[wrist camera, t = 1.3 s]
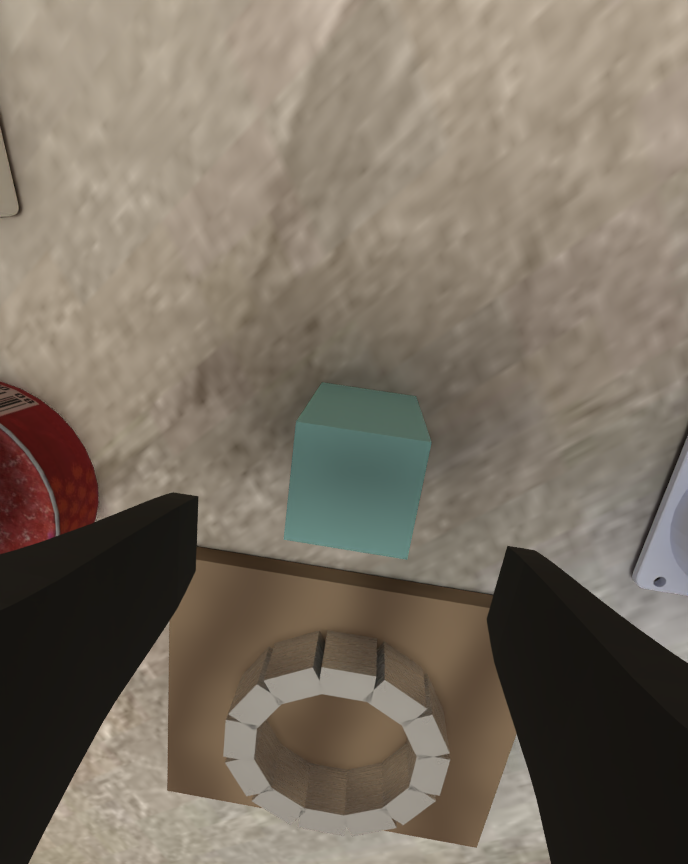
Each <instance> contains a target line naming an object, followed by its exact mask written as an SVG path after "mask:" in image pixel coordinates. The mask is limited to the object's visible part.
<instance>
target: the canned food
mask: <svg viewBox="0 0 688 864" xmlns="http://www.w3.org/2000/svg"><path fill="white" fill-rule="evenodd" d="M97 509H98V484H97V480H96V476H95V471H94V467H93V465H92V463H91V460H90V458H89V456H88V454H87V451H86V449H85V447H84V446H83V444H82V443H81V441H80V440H79V438H78V437H77V435H76V434H75V432H74V431H73V429H72V428H71V427H70V426H69V425H68V424H67V423H66V422H65V421H64V420H63V419H62V417H61V416H60V415H59V414H58V413H57V412H55V411H54V410H53V409H51V408H50V407H49V406H48V405H46V404H45V403H44V402H43V401H41V400H40V399H38V398H36V397H35V396H33V395H31V394H29V393H27V392H26V391H24V390H22V389H20V388H17V387H15V386H12V385H9V384H6V383H3V382H0V554H3V553H6V552H10V551H13V550H17V549H20V548H23V547H26V546H30V545H33V544H36V543H39V542H42V541H45V540H47V539H50V538H53V537H56V536H58V535H61V534H64V533H67V532H70V531H72V530H75V529H78V528H81V527H83V526H86V525H89V524H92V523H94V522H95V519H96V514H97Z"/></svg>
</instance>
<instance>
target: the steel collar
mask: <svg viewBox="0 0 688 864" xmlns="http://www.w3.org/2000/svg"><path fill="white" fill-rule="evenodd" d="M320 694H324V695H330V696H336V697H342V698H347V699H353V700H359V701H364V702H368V703H369V704H371V705H372V706H374V707H375V708H377V709H378V710H380V711H381V712H383V713H384V714H385V715H387V716H388V717H390V718H391V719H393V720H394V721H396V722H397V723H399V724H400V725H402V727H403V729H404V731H405V733H406V735H407V737H408V738H407V742H406V743H405V744H404V745H402V746H401V747H400V748H399V749H398V750H396V751H395V752H394V753H393V754H392V755H390V756H389V757H388V758H387V759H386V760H384V761H383V762H381V763H377V764H372V765H367V766H363V767H358V768H353V769H349V770H346V769H340V768H335V767H329V766H324V765H318V764H313V763H310V762H308V761H307V760H305V759H304V758H302V757H300V756H299V755H297V754H296V753H294V752H293V751H291V750H289V749H288V748H286V747H285V746H283V745H282V744H281V743H280V741H279V740H278V738H277V736H276V734H275V733H274V731H273V729H272V728H271V726H270V724H269V722H268V721H267V718H268V717H269V716H270V715H271V714H272V713H273V712H274V711H275V710H276V709H277V708H278V707H279V706H280V705H281V704H285V703H289V702H293V701H296V700H300V699H304V698H308V697H312V696H316V695H320ZM449 753H450V752H449V745H448V738H447V732H446V725H445V718H444V712H443V708H442V706H441V704H440V701H439V699H438V697H437V694H436V692H435V690H434V688H433V685H432V683H431V681H430V679H429V676H428V674H425V675H423V668H422V667H420V666H419V665H417V664H416V663H414V662H413V661H412V660H410V659H409V658H407V657H406V656H404V655H403V654H401V653H400V652H399V651H397V650H396V649H394V648H393V647H391V646H390V645H389V644H387V643H386V642H383V643H382V644H381V645H380V646H379V647H378V648H377V638H371V637H365V636H359V635H353V634H347V633H341V632H335V631H329V630H327V636H326V643H325V641H324V639H323V637H322V635H321V633H320V631H316V632H312V633H309V634H305V635H302V636H298V637H295V638H291V639H288V640H284V641H280V642H277V643H275V644H274V648H273V649H272V648H270V647H268V648H267V649H266V650H265V651H264V652H263V653H262V654H261V656H260V657H259V658H258V659H257V660H256V661H255V662H254V663H253V664H252V665H251V666H250V667H249V668H248V669H247V671H246V672H245V673H244V674H243V675H242V678H241V680H240V682H239V685H238V687H237V690H236V693H235V696H234V698H233V701H232V704H231V707H230V709H229V712H228V715H227V718H226V723H225V738H224V753H223V757H227V758H226V761H225V763H226V765H227V767H228V768H229V770H230V771H231V773H232V774H233V776H234V778H235V779H236V781H237V782H238V784H239V785H240V787H241V789H242V790H243V792H244V793H245V795H246V796H250V795H253V798H252V802H254V803H255V804H257V805H259V806H260V807H262V808H263V809H265V810H267V811H268V812H270V813H272V814H273V815H275V816H277V817H278V818H280V819H282V820H283V821H285V822H286V823H288V824H292V823H293V822H294V821H295V820H296V819H297V818H299V820H298V828H303V829H308V830H314V831H319V832H324V833H330V834H335V835H341V836H344V834H345V829H346V827H347V829H348V830H349V832H350V834H351V836H356V835H361V834H367V833H372V832H377V831H383V830H388V829H394V828H397V821H398V822H399V823H401V824H402V825H404V824H406V823H407V822H408V821H410V820H411V819H412V818H414V817H415V816H416V815H418V814H419V813H420V812H422V811H423V810H424V809H426V808H427V807H428V806H430V805H431V804H432V803H434V802H435V801H436V797H435V795H438V796H440V793H441V790H442V786H443V783H444V779H445V776H446V773H447V769H448V766H449V762H450V755H449Z"/></svg>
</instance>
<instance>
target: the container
mask: <svg viewBox="0 0 688 864" xmlns="http://www.w3.org/2000/svg"><path fill="white" fill-rule="evenodd" d="M18 210H19V205H18V201H17V197H16V192H15V188H14V184H13V179H12V175H11V171H10V167H9V162H8V158H7V154H6V149H5V145H4V141H3V137H2V132H1V128H0V217H6V216H13V215H15V214H17V212H18Z"/></svg>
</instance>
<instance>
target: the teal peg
mask: <svg viewBox="0 0 688 864" xmlns="http://www.w3.org/2000/svg"><path fill="white" fill-rule="evenodd" d="M431 443H432V442H431V439H430V436H429V433H428V430H427V427H426V424H425V421H424V418H423V415H422V413H421V410H420V407H419V404H418V401H417V398H416V396H411V395H404V394H397V393H391V392H384V391H377V390H370V389H364V388H357V387H350V386H344V385H337V384H330V383H324V382H322V383H321V385H320V386H319V388H318V389H317V391H316V392H315V394H314V395H313V397H312V398H311V400H310V401H309V403H308V404H307V406H306V407H305V409H304V410H303V412H302V413H301V415H300V416H299V418H298V419H297V421H296V427H295V437H294V446H293V456H292V465H291V475H290V484H289V494H288V503H287V513H286V523H285V532H284V540H290V541H296V542H302V543H308V544H314V545H320V546H327V547H333V548H339V549H345V550H351V551H357V552H363V553H370V554H376V555H382V556H388V557H394V558H400V559H406V560H407V558H408V553H409V548H410V543H411V539H412V534H413V529H414V524H415V519H416V515H417V510H418V505H419V500H420V495H421V491H422V486H423V481H424V476H425V471H426V467H427V462H428V457H429V452H430V447H431Z"/></svg>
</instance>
